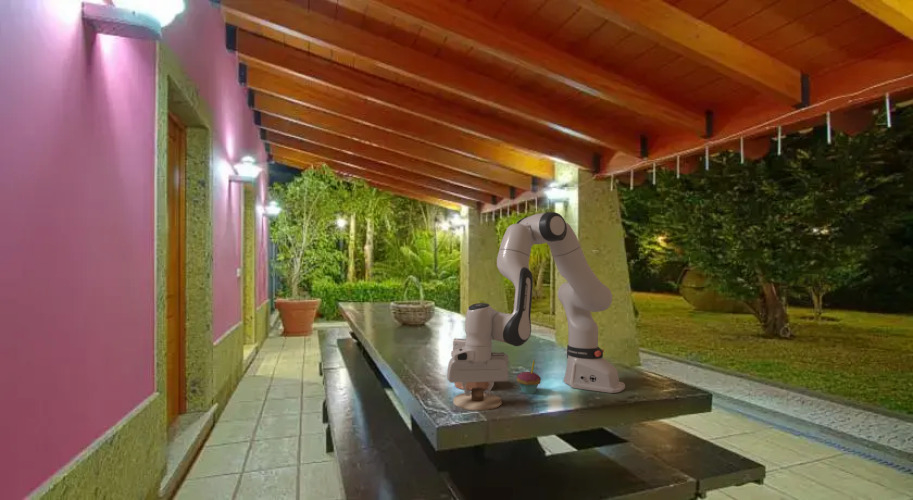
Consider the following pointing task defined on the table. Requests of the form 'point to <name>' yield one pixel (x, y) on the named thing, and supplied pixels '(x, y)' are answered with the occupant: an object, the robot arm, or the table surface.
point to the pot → (472, 385)
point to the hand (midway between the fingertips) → (477, 394)
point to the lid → (477, 400)
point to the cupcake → (528, 381)
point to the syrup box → (458, 343)
